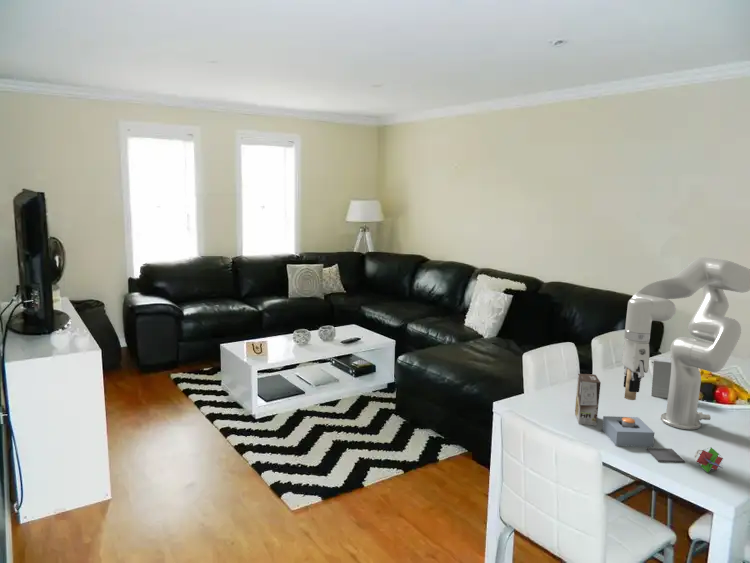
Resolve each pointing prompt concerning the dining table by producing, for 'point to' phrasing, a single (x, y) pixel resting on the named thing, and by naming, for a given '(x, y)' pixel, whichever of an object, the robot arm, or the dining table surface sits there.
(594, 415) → the coffee box
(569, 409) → the dining table surface
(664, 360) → the skincare box
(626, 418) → the orange push button
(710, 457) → the geometric puzzle
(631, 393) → the beech dowel
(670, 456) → the rubber pad
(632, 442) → the grey button housing
